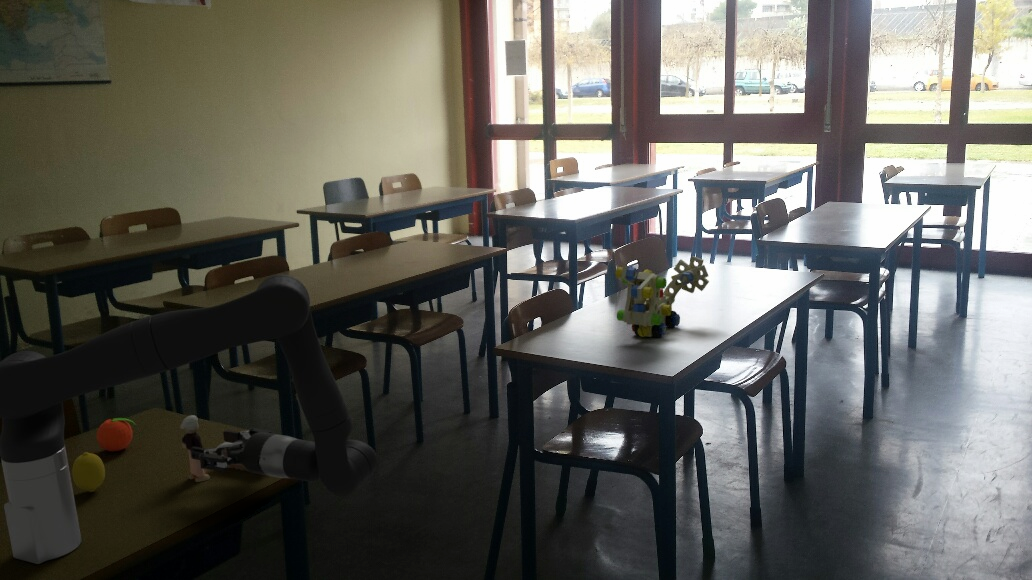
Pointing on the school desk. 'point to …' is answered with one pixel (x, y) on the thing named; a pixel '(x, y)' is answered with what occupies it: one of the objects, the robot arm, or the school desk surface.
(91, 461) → the lemon
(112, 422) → the clementine
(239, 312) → the robot arm
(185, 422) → the grandmother figurine
